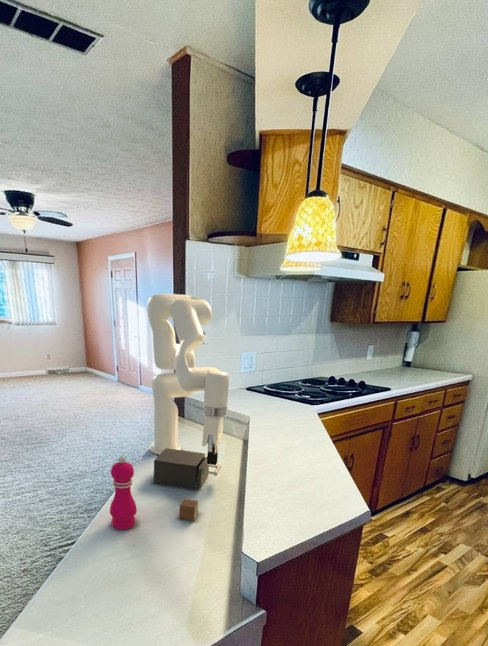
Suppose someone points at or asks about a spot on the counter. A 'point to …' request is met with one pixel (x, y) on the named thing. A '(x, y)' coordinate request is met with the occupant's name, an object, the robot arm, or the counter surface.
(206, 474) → the drawer
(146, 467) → the counter surface
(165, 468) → the drawer cabinet
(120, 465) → the pepper mill
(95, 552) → the counter surface
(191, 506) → the block
